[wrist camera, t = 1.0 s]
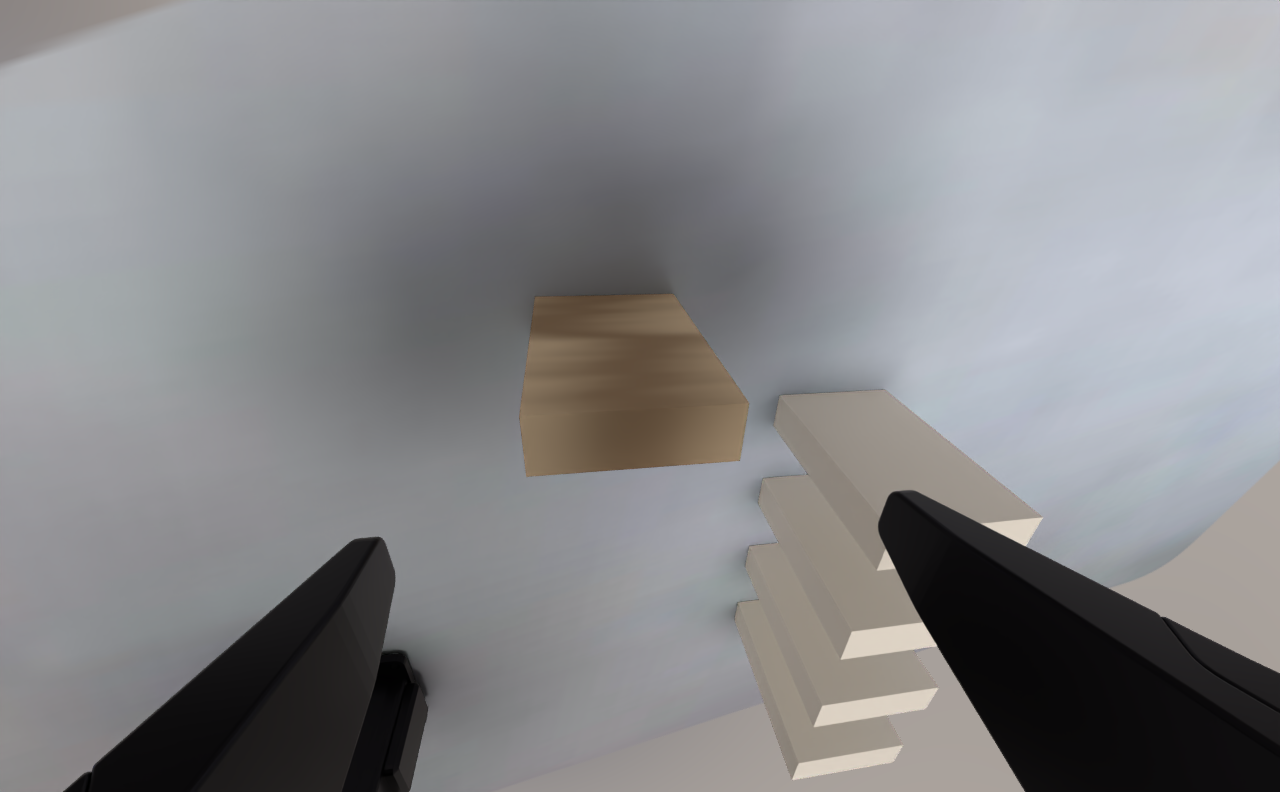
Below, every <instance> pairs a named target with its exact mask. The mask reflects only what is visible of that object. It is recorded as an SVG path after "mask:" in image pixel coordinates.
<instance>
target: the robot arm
mask: <svg viewBox="0 0 1280 792" xmlns="http://www.w3.org/2000/svg"><path fill="white" fill-rule="evenodd" d="M878 532H879V535H880V538H881V540H882V542H883V544H884V546H885V548H886V550H887V552H888V554H889V556H890V558H891V561H892V563H893V565H894V567H895V569H896V571H897V573H898V575H899V577H900V579H901V581H902V583H903V585H904V587H905V589H906V591H907V594H908V596H909V598H910V600H911V602H912V604H913V605H914V607H915V609H916V611H917V613H918V615H919V616H920V618H921V620H922V622H923V623H924V625H925V627H926V628H927V630H928V632H929V633H930V635H931V637H932V638H933V640H934V642H935V643H936V645H937V647H938V648H939V650H940V651H941V653H942V655H943V657H944V658H945V660H946V661H947V663H948V665H949V666H950V668H951V670H952V672H953V673H954V675H955V676H956V678H957V680H958V681H959V683H960V685H961V686H962V688H963V690H964V691H965V693H966V695H967V696H968V698H969V700H970V701H971V703H972V705H973V706H974V708H975V710H976V711H977V713H978V715H979V716H980V718H981V719H982V721H983V723H984V724H985V726H986V728H987V730H988V731H989V733H990V734H991V736H992V738H993V739H994V741H995V743H996V744H997V746H998V748H999V749H1000V751H1001V752H1002V754H1003V756H1004V758H1005V759H1006V761H1007V762H1008V764H1009V766H1010V768H1011V769H1012V771H1013V773H1014V774H1015V776H1016V778H1017V779H1018V781H1019V783H1020V784H1021V786H1022V787H1023V789H1024V791H1025V792H1280V673H1278V672H1276V671H1274V670H1272V669H1270V668H1267V667H1265V666H1263V665H1261V664H1259V663H1257V662H1255V661H1252V660H1250V659H1248V658H1246V657H1244V656H1242V655H1240V654H1238V653H1236V652H1234V651H1232V650H1230V649H1228V648H1226V647H1224V646H1222V645H1220V644H1218V643H1216V642H1214V641H1212V640H1210V639H1208V638H1206V637H1204V636H1202V635H1200V634H1198V633H1196V632H1194V631H1192V630H1190V629H1188V628H1186V627H1184V626H1182V625H1180V624H1178V623H1176V622H1174V621H1172V620H1170V619H1168V618H1166V617H1160V615H1159V614H1157V613H1156V612H1154V611H1152V610H1150V609H1148V608H1146V607H1144V606H1142V605H1140V604H1138V603H1136V602H1134V601H1133V600H1131V599H1129V598H1127V597H1124V596H1123V595H1121V594H1119V593H1117V592H1115V591H1113V590H1111V589H1109V588H1107V587H1105V586H1103V585H1101V584H1099V583H1097V582H1095V581H1093V580H1091V579H1089V578H1087V577H1085V576H1083V575H1081V574H1079V573H1077V572H1075V571H1073V570H1071V569H1069V568H1067V567H1065V566H1063V565H1061V564H1059V563H1057V562H1055V561H1053V560H1051V559H1049V558H1048V557H1046V556H1044V555H1042V554H1040V553H1038V552H1036V551H1034V550H1032V549H1030V548H1028V547H1026V546H1024V545H1022V544H1020V543H1018V542H1016V541H1014V540H1012V539H1010V538H1008V537H1006V536H1004V535H1002V534H1000V533H998V532H996V531H994V530H992V529H990V528H988V527H986V526H984V525H982V524H980V523H978V522H976V521H974V520H972V519H971V518H969V517H967V516H965V515H963V514H961V513H959V512H957V511H955V510H953V509H951V508H949V507H947V506H945V505H943V504H941V503H939V502H937V501H935V500H933V499H931V498H929V497H927V496H925V495H923V494H921V493H919V492H917V491H914V490H902V491H894V492H892V493H890V494H889V496H888V497H887V500H886V503H885V505H884V508H883V511H882V513H881V516H880V519H879V521H878ZM394 587H395V570H394V567H393V564H392V561H391V558H390V555H389V552H388V549H387V546H386V543H385V541H384V540H383V539H382V538H381V537H369V538H358V539H354V540H352V541H351V542H349V543H348V544H347V545H346V546H345V547H344V548H342V549H341V550H340V551H339V552H338V553H337V554H336V555H334V556H333V557H332V558H331V559H330V560H329V561H327V562H326V563H325V564H324V565H323V566H322V567H321V568H319V569H318V570H317V571H316V572H315V573H314V574H313V575H311V576H310V577H309V578H308V579H307V580H306V581H305V582H303V583H302V584H301V585H300V586H299V587H298V588H297V589H295V590H294V591H293V592H292V593H291V594H290V595H288V596H287V597H286V598H285V599H284V600H283V601H282V602H280V603H279V604H278V605H277V606H276V607H275V608H274V609H272V610H271V611H270V612H269V613H268V614H267V615H266V616H264V617H263V618H262V619H261V620H260V621H259V622H257V623H256V624H255V625H254V626H253V627H252V628H251V629H249V630H248V631H247V632H246V633H245V634H244V635H243V636H241V637H240V638H239V639H238V640H237V641H236V642H235V643H233V644H232V645H231V646H230V647H229V648H228V649H227V650H225V651H224V652H223V653H222V654H221V655H220V656H218V657H217V658H216V659H215V660H214V661H213V662H212V663H210V664H209V665H208V666H207V667H206V668H205V669H204V670H202V671H201V672H200V673H199V674H198V675H197V676H196V677H194V678H193V679H192V680H191V681H190V682H189V683H187V684H186V685H185V686H184V687H183V688H182V689H181V690H179V691H178V692H177V693H176V694H175V695H174V696H173V697H171V698H170V699H169V700H168V701H167V702H166V703H165V704H163V705H162V706H161V707H160V708H159V709H158V710H157V711H155V712H154V713H153V714H152V715H151V716H150V717H148V718H147V719H146V720H145V721H144V722H143V723H142V724H140V725H139V726H138V727H137V728H136V729H135V730H134V731H132V732H131V733H130V734H129V735H128V736H127V737H126V738H124V739H123V740H122V741H121V742H120V743H119V744H117V745H116V746H115V747H114V748H113V749H112V750H111V751H109V752H108V753H107V754H106V755H105V756H104V757H103V758H101V759H100V760H99V761H98V762H97V763H96V764H95V765H94V766H93V769H92V772H86V773H84V774H83V775H82V776H80V777H79V778H78V779H77V780H76V781H75V782H74V783H72V784H71V785H70V786H69V787H68V788H67V789H66V790H64V791H63V792H409V791H410V789H411V784H412V780H413V775H414V771H415V766H416V762H417V757H418V753H419V748H420V744H421V739H422V735H423V730H424V726H425V723H426V719H427V712H428V707H427V704H426V701H425V699H424V696H423V693H422V690H421V688H420V686H419V684H418V683H417V682H416V681H415V678H414V676H413V673H412V670H411V668H410V665H409V662H408V660H407V658H406V656H404V655H402V654H389V655H381V653H382V648H383V643H384V638H385V633H386V628H387V623H388V618H389V613H390V608H391V603H392V598H393V593H394Z"/></svg>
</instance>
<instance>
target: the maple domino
mask: <svg viewBox="0 0 1280 792" xmlns="http://www.w3.org/2000/svg"><path fill="white" fill-rule="evenodd" d="M748 408H749V402H748V401H747V399H746V398H745V396H744V395H743V394H742V392H741V391H740V389H739V388H738V386H737V385H736V383H735V382H734V381H733V379H732V378H731V376H730V375H729V373H728V372H727V370H726V369H725V368H724V366H723V365H722V363H721V362H720V360H719V359H718V358H717V356H716V355H715V353H714V352H713V350H712V349H711V347H710V346H709V345H708V343H707V342H706V340H705V339H704V337H703V336H702V334H701V333H700V332H699V330H698V329H697V327H696V326H695V324H694V323H693V322H692V320H691V319H690V317H689V316H688V314H687V313H686V311H685V310H684V309H683V307H682V306H681V304H680V303H679V301H678V300H677V298H676V297H675V296H674V294H640V295H591V296H543V297H535V301H534V309H533V316H532V324H531V331H530V339H529V346H528V354H527V361H526V369H525V376H524V384H523V391H522V399H521V406H520V414H519V419H520V427H521V436H522V444H523V452H524V461H525V469H526V477H529V476H543V475H556V474H570V473H583V472H596V471H610V470H623V469H637V468H650V467H663V466H677V465H690V464H703V463H717V462H730V461H740V456H741V450H742V444H743V438H744V432H745V426H746V420H747V414H748Z"/></svg>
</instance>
